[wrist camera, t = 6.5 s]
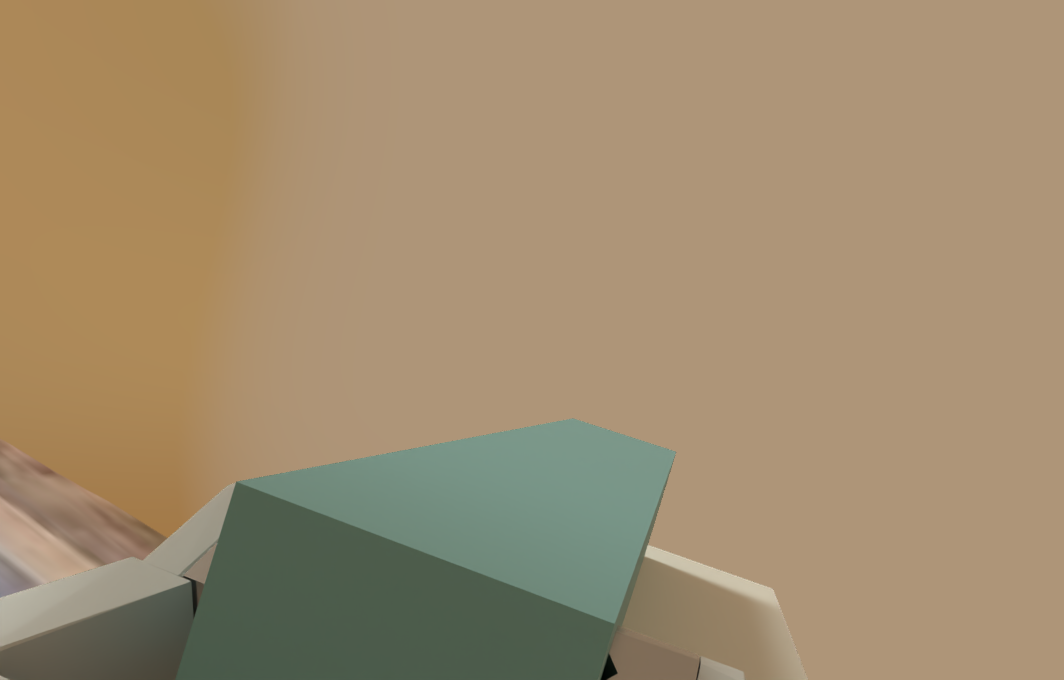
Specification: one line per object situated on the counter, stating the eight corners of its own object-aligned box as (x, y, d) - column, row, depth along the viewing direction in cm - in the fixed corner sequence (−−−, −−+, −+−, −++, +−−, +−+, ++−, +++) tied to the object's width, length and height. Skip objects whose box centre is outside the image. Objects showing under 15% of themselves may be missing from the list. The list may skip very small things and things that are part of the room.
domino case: (485, 1047, 6) (615, 624, 6) (118, 861, 7) (236, 481, 7) (644, 555, 26) (676, 451, 26) (542, 519, 27) (573, 418, 27)
